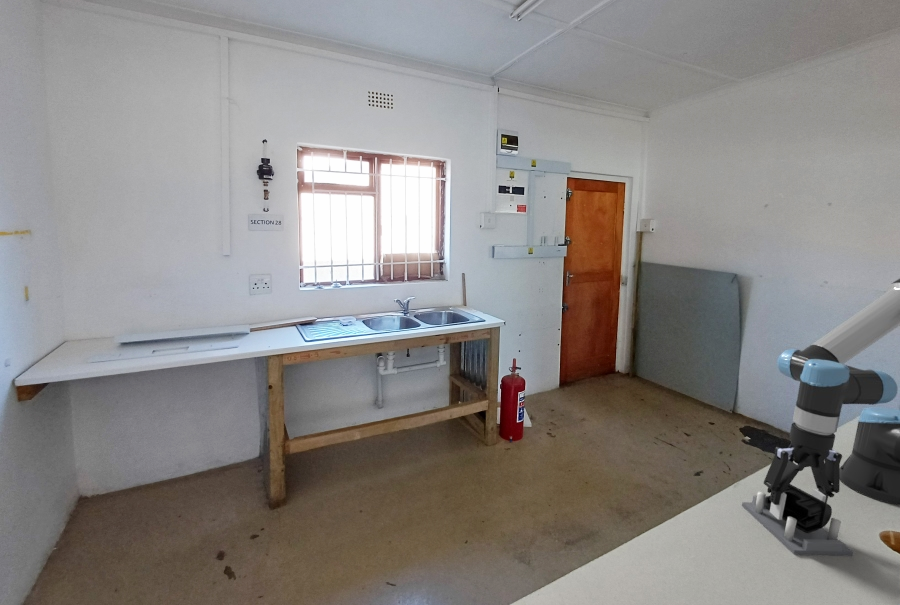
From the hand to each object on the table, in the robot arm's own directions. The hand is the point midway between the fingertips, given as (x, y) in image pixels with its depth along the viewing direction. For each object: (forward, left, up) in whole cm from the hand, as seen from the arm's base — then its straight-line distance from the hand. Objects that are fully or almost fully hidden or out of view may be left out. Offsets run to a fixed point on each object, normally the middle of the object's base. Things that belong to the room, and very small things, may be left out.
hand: (794, 516), depth 97 cm
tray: (0, 0, -3) cm, 3 cm away
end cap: (0, 0, -1) cm, 1 cm away
